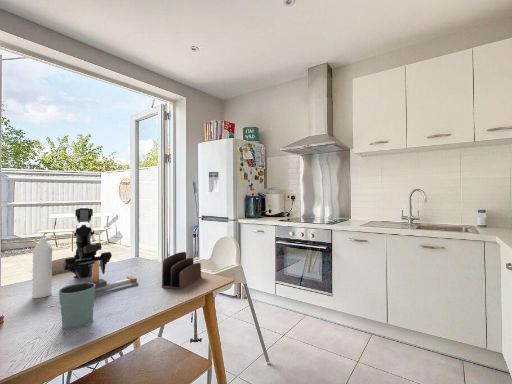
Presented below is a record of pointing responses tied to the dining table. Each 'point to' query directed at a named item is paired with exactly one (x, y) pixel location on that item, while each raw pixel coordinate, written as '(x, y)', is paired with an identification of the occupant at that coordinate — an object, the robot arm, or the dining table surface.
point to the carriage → (97, 277)
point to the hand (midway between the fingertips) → (92, 275)
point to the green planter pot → (77, 305)
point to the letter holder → (179, 271)
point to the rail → (116, 286)
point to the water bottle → (42, 269)
